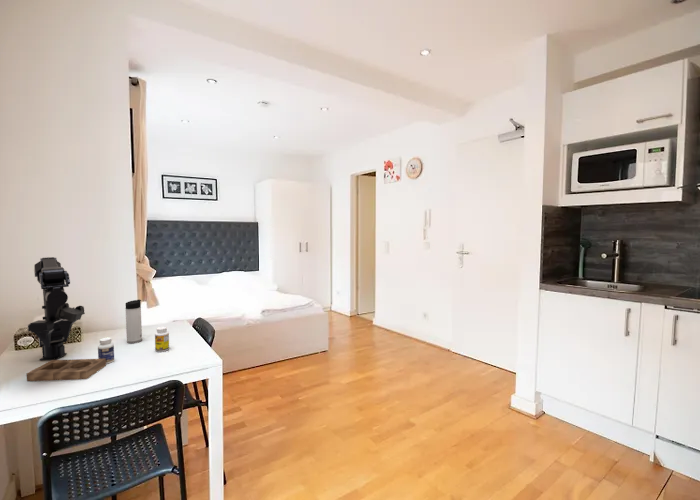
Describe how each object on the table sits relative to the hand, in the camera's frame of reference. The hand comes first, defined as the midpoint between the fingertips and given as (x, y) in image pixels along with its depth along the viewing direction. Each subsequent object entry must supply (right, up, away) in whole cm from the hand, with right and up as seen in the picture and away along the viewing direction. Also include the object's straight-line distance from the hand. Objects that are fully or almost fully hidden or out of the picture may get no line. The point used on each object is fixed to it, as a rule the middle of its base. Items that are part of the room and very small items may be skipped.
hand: (57, 342), depth 130 cm
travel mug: (+6, -10, +37) cm, 39 cm away
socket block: (+3, -12, +1) cm, 13 cm away
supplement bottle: (+26, -11, +26) cm, 38 cm away
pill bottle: (+10, -12, +12) cm, 20 cm away
